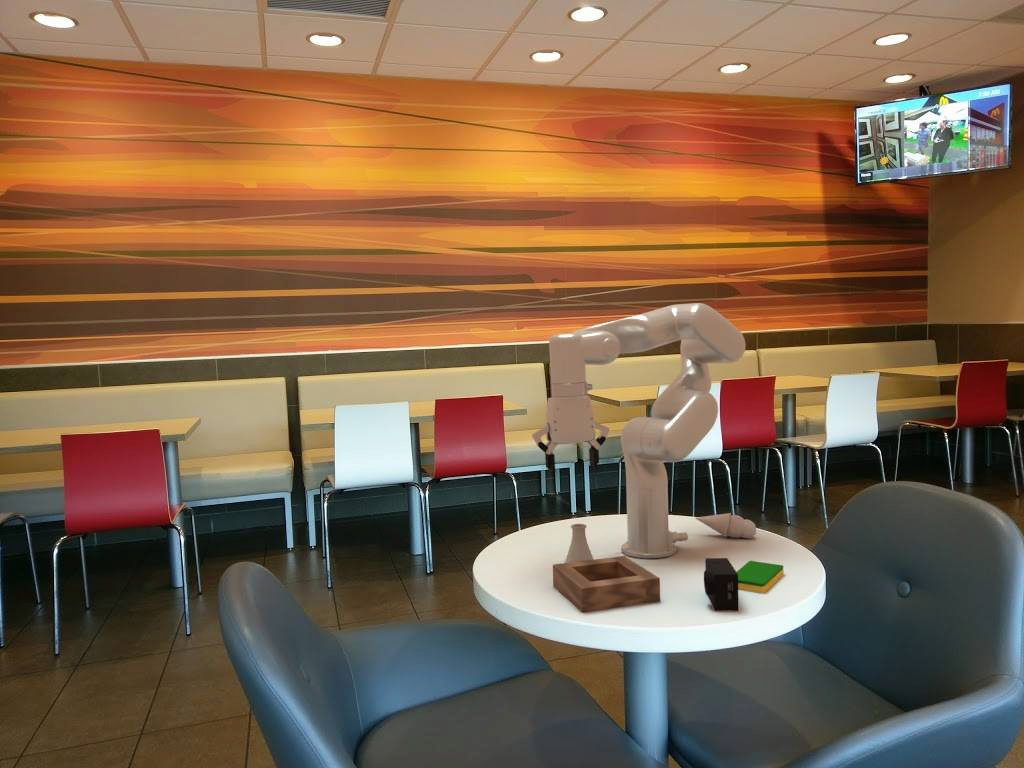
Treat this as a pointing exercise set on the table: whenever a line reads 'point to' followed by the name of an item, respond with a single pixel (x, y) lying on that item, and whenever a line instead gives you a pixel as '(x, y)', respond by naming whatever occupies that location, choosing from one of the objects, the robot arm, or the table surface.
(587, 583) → the condiment dock
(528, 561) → the table surface
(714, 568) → the digital camera
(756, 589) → the dish sponge
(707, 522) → the ice cream cone
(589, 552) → the flask
